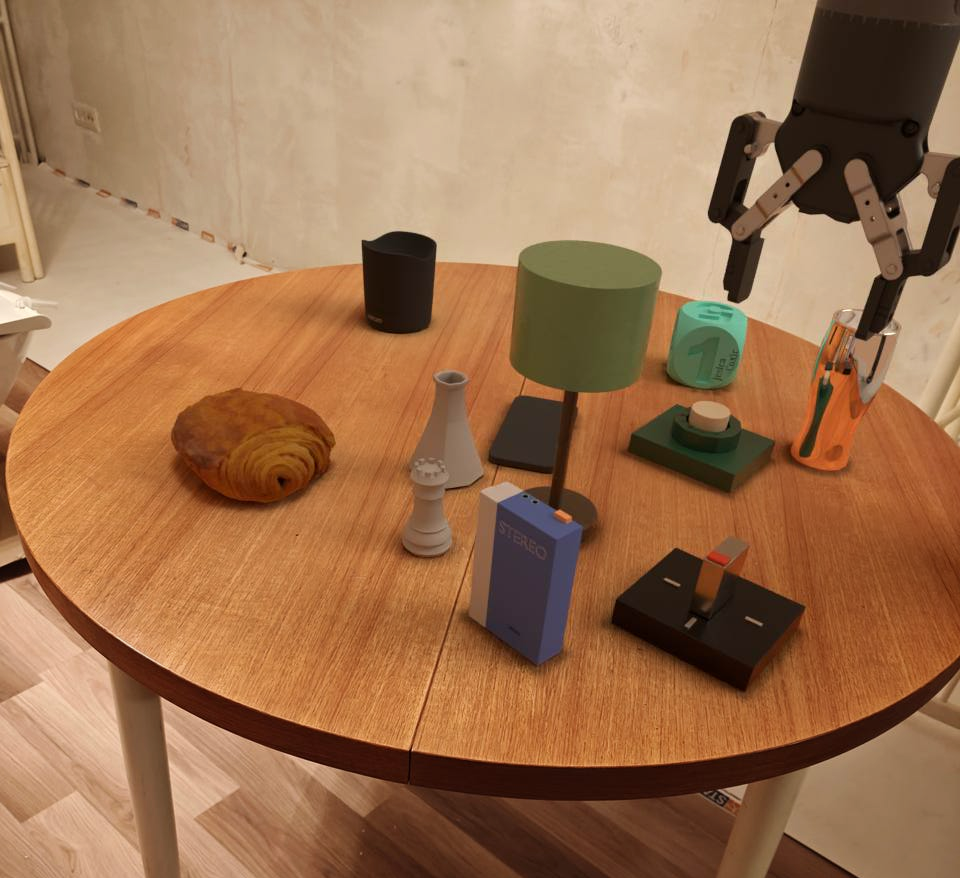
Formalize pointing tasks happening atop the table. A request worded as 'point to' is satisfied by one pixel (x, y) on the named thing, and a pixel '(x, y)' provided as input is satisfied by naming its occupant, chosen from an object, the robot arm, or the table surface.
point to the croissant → (253, 444)
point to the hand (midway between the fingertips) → (798, 317)
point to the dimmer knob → (719, 576)
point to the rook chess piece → (428, 511)
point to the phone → (528, 434)
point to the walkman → (523, 570)
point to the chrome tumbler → (842, 389)
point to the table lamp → (580, 336)
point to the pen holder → (399, 281)
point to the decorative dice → (706, 344)
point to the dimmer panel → (707, 621)
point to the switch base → (702, 449)
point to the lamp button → (709, 416)
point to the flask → (450, 432)
